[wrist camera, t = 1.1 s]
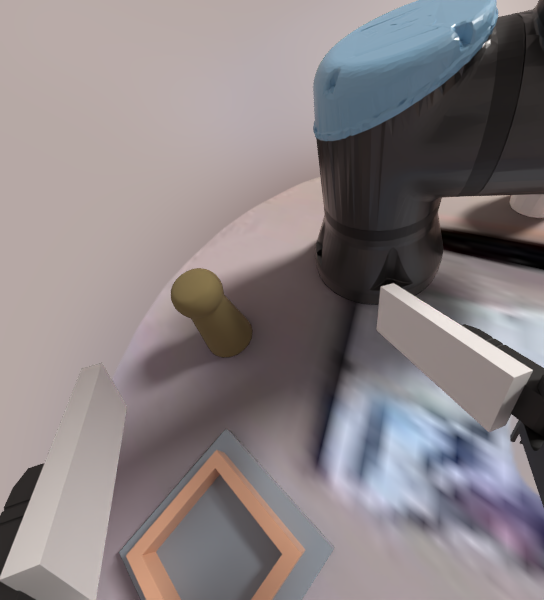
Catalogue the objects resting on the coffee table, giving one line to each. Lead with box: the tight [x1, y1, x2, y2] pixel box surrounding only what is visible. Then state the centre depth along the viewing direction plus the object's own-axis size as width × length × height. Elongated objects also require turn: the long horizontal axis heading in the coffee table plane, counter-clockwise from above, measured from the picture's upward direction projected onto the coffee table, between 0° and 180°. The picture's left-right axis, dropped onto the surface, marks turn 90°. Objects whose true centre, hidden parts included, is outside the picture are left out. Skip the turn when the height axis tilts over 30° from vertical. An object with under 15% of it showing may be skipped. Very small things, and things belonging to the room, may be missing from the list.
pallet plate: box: [119, 429, 334, 600], centre depth 23 cm, size 13×13×3 cm
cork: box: [171, 268, 252, 357], centre depth 32 cm, size 6×6×11 cm
